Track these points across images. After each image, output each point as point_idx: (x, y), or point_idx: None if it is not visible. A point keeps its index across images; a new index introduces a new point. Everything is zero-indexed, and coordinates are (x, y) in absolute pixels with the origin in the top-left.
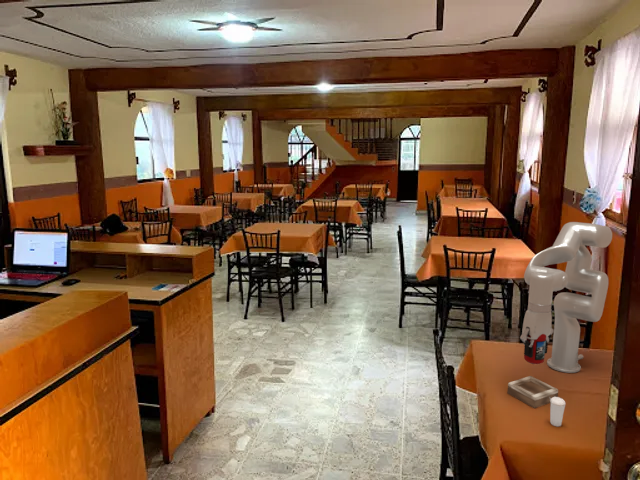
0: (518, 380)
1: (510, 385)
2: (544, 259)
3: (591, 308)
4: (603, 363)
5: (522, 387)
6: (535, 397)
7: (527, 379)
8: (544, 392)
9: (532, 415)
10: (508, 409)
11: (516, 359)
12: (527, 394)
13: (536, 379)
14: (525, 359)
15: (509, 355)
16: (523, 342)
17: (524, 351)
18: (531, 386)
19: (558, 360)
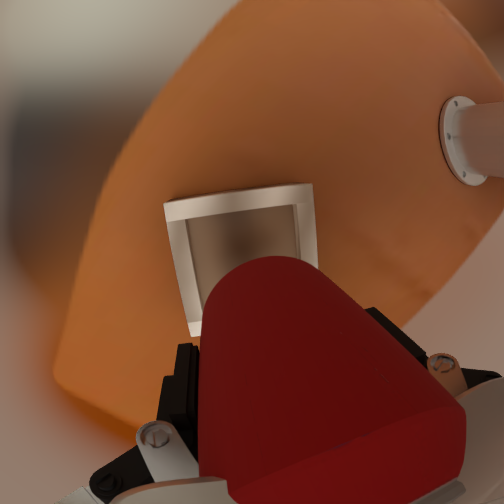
0: (225, 199)
1: (166, 217)
2: None
3: None
4: None
5: (216, 234)
6: (192, 336)
7: (272, 206)
8: None
9: (161, 341)
10: (110, 292)
11: (385, 30)
12: (184, 302)
13: (309, 221)
14: (202, 316)
15: (380, 5)
16: (108, 472)
17: (177, 361)
18: (259, 240)
19: (468, 142)
